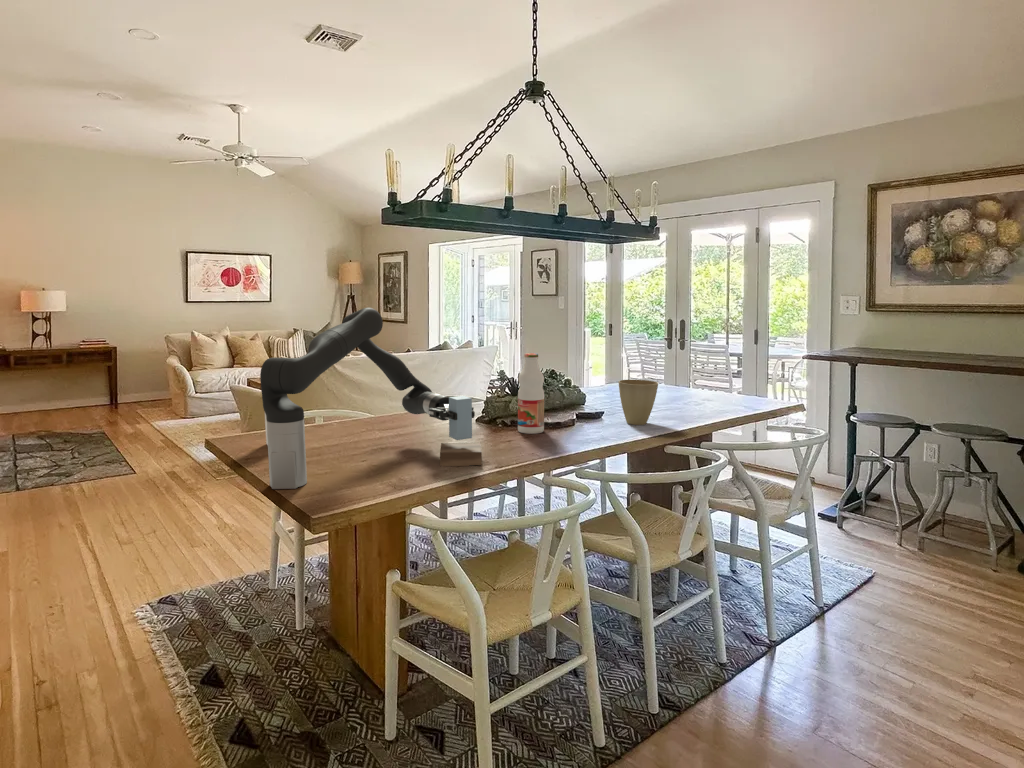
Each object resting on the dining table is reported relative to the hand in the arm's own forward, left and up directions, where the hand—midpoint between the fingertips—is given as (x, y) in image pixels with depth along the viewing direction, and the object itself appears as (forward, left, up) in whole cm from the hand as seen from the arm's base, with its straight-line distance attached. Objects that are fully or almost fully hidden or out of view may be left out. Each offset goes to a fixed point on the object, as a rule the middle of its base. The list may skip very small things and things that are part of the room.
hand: (464, 415), depth 193 cm
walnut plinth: (+2, +1, -14) cm, 14 cm away
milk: (+26, +61, -14) cm, 68 cm away
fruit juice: (+41, -24, -14) cm, 50 cm away
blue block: (+2, +1, -7) cm, 7 cm away
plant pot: (+53, -66, -14) cm, 86 cm away
